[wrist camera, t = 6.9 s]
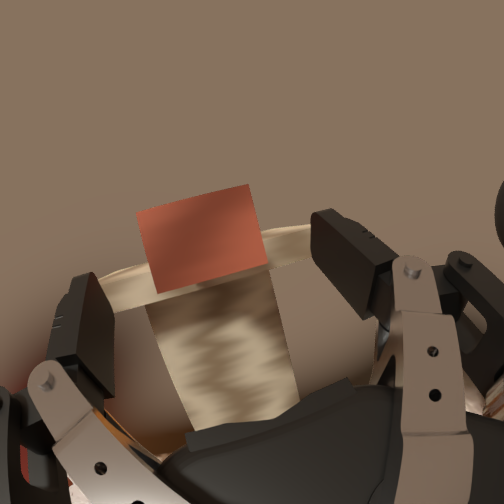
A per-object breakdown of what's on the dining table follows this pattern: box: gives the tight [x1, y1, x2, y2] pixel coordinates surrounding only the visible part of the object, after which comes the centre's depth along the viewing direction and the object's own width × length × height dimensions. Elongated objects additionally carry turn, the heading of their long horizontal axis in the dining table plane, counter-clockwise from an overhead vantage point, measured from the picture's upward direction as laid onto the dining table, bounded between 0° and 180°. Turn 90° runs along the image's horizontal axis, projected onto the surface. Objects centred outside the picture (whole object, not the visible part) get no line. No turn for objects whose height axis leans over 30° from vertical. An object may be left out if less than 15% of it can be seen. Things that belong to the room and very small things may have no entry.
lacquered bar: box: [136, 184, 268, 294], centre depth 21 cm, size 4×26×2 cm, turn 13°
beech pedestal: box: [98, 224, 312, 431], centre depth 28 cm, size 20×16×32 cm
